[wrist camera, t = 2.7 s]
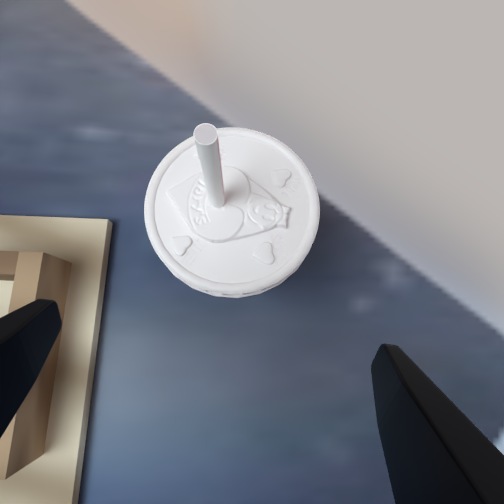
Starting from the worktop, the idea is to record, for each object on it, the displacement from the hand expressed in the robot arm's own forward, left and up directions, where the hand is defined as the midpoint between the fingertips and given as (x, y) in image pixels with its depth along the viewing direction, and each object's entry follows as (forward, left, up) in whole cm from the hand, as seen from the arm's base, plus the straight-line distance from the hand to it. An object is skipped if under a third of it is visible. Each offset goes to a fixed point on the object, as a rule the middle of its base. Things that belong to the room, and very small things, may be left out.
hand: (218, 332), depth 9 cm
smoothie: (+4, 0, -12) cm, 12 cm away
